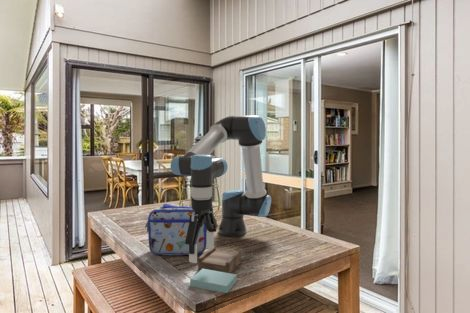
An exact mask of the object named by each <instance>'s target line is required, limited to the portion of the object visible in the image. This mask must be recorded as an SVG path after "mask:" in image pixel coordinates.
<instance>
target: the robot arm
mask: <svg viewBox="0 0 470 313" xmlns="http://www.w3.org/2000/svg"><path fill="white" fill-rule="evenodd" d="M266 131H267V129H266V124H265V121H264V120H263V118H262V117H261V116H260V115H249V114H248V115H230V116H226V117H224V118H221V119H219V120H218V121H216V122H215V123H213V124H212V125H211V126H210V127H209V130H208V132H207V133H205V135H204V136H202V138H200V139H199V140H198V142H196V144H194V145H193V146H192V147H191V148H190V149H189V150H188V151H187V152H186V153H185V154H183V155H182V156H181V155H179V156H174V157H173V158H171V161H170V166H169V167H170V170H171V173H172V174H174V175H177V176H182V177H183V176H187V177H188V176H189V177H190V181H191V182H190V191H191V192H190V194H191V195H190V196H191V197H192V198H191V199H190V201H191V202H190V207H191V208H192V209H193V210H194V211H195V214H194V215H190V221H189V226H188V231H187V236H186V241H185V244H188V245H189V255H188V262H189V263H192V264H198V254H197V244H196V241H197V238H198V234H199V231H200V228H201V227H202V226H203V224H205V226H206V228H207V232H206V241H207V244H206V249H208V250H209V249H214V247H215V237H214V235H215V232H217V223H216V220H215V215H214V208H213V198H212V197H213V179H215V178H220V177H221V176H224V175H225V174H226V173H227V172H228V162H227V161H226V160H225V159H224V157H223V158H222V157H217V156H215V157H212V155H211V154H212V153H213V151H215V150H216V149H217V148H218V147H219V145H220V144H223V143H224V142H226V141H230V140H236V141H237V140H238V145H239V146H240V147H242V148H241V149H242V155H243V165H244V167H243V168H244V173H245V174H244V175H245V183H246V190H243V189H230V190H226V191H223V193H222V197H221V220H220V223H219V226H218V234H220V235H221V236H226V237H241V236H244V235H246V234H247V227H246V223H245V219H244V216H249V217H257V218H265V217H267V216H268V215H269V212H270V210H271V205H272V197H271V195H269V194H268V192H267V190H266V189H265V188H264V179H263V168H262V167H263V166H262V159H261V147H260V146H261V145H262V143H263V141H264V140H265V138H266V135H267V134H266V133H267V132H266Z"/></svg>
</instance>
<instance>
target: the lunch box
mask: <svg viewBox="0 0 470 313" xmlns="http://www.w3.org/2000/svg"><path fill="white" fill-rule="evenodd" d="M194 214H195V211H194V210H193V209H192V208H191V206H186V205H185V206H182V205H181V206H177V205H171V204H167V203H163V204H162V206H158V207H155V208H154V209H153V210H152V211H151V212H150V213H149V214H148V217H147V220H146V224H145V226H144V228H145V229H146V232H147V233H148V235H147V236H148V247H149V251H150V252H151V253H152V254H153V255H157V256H189V245H188V244H185V241H186V236H187V231H188V226H189V221H190V215H194ZM207 231H208V230H207V228H206V226H205V224H203V226H202V227H201V228H200V231H199V234H198V238H197V241H196V244H197V255H199V254H200V255H201V254H203V253H205V252H206V251H205V250H206V249H207V241H206V232H207Z"/></svg>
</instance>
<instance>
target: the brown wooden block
mask: <svg viewBox="0 0 470 313" xmlns="http://www.w3.org/2000/svg"><path fill="white" fill-rule="evenodd" d="M241 263H242V250H239V249H238V250H237V251H236V252H231V251H226V250H225V251H224V250H219V249H217V248H216V246H214V249H208V250H206V251H204V252H203V253H202V254H200V256H199V257H197V270H198V271H200V270H201V269H208V270H214V271H219V272H225V273H231V274H233V272H234V271H235V269H236V268H238V266H239V265H240V264H241Z"/></svg>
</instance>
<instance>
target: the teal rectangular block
mask: <svg viewBox="0 0 470 313" xmlns="http://www.w3.org/2000/svg"><path fill="white" fill-rule="evenodd" d="M237 277H238V274H236V273H235V274H234V273H225V272H219V271H214V270H208V269H201V270H198V272H197V273H195V274H194V275H193V276H192V277H191V278H189V280H190V281H189V282H190V283H189V286H190V287H194V288H200V289H203V290H209V291H212V292H219V293H223V294H228V292H229V291H230V290H231V289H232V288H233V286H234V285H235V284H236V283H237V281H238V278H237Z"/></svg>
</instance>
